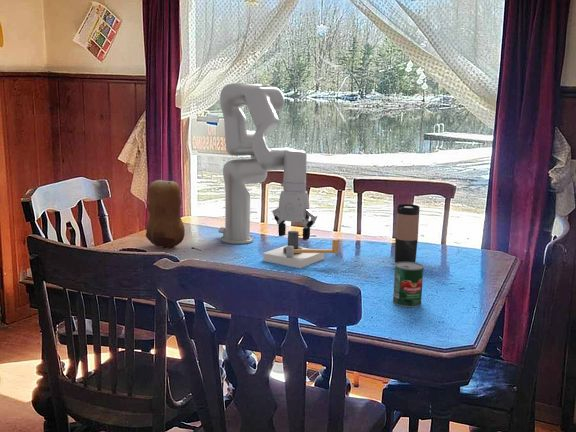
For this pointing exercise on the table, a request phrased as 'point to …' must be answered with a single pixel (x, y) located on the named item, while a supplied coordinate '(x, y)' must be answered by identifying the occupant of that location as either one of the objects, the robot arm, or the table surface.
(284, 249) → the plug
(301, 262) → the white square base
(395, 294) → the canned tomato
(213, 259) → the table surface
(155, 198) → the butternut squash
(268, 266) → the table surface
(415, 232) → the travel mug
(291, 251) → the orange crank handle
